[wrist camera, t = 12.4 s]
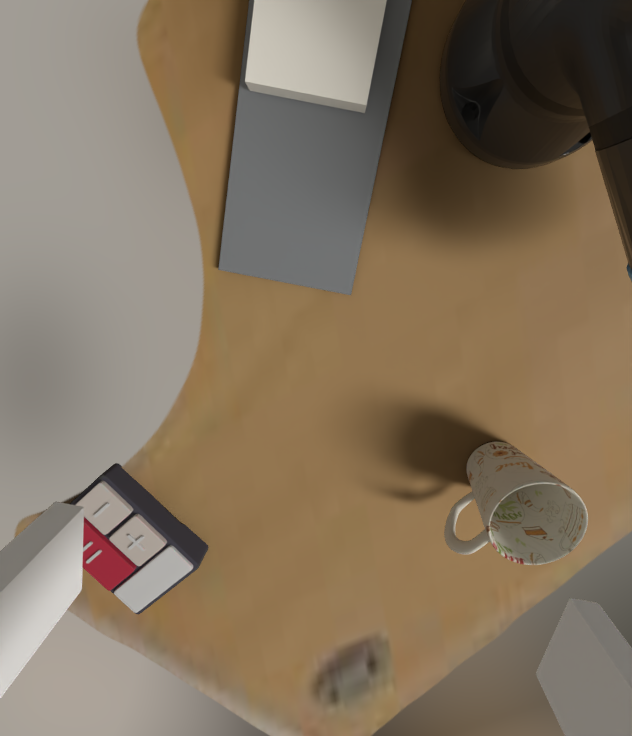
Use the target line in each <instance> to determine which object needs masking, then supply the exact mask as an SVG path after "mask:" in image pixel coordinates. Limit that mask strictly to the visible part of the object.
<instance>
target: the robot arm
mask: <svg viewBox="0 0 632 736" xmlns="http://www.w3.org/2000/svg"><path fill="white" fill-rule="evenodd" d="M440 92H441V99H442V104H443V108H444V111H445V114H446V117H447V120H448V122H449V124H450V126H451V128H452V130H453V132H454V133H455V135H456V136H457V138H458V139H459V140H460V142H461V143H462V144H463V145H464V146H465V147H466V148H467V149H468V150H469V151H470V152H472V153H473V154H474V155H476V156H477V157H479V158H480V159H482V160H484V161H486V162H488V163H490V164H493V165H496V166H500V167H504V168H511V169H526V168H533V167H538V166H542V165H545V164H548V163H551V162H553V161H556V160H558V159H561V158H563V157H566V156H568V155H570V154H572V153H574V152H576V151H577V150H579V149H581V148H582V147H584V146H585V145H587V144H588V143H589V142H591V141H592V140H593V143H594V146H595V152H596V155H597V159H598V162H599V165H600V169H601V172H602V176H603V179H604V182H605V186H606V189H607V192H608V196H609V199H610V203H611V206H612V209H613V213H614V216H615V219H616V223H617V226H618V229H619V233H620V236H621V240H622V243H623V246H624V250H625V253H626V256H627V260H628V265H627V271H628V275H629V277H630V279H631V281H632V0H466V1H465V3H464V5H463V6H462V8H461V10H460V12H459V14H458V16H457V18H456V20H455V21H454V24H453V26H452V28H451V30H450V32H449V35H448V38H447V41H446V44H445V47H444V51H443V55H442V60H441V68H440ZM83 528H84V507H82V506H76V505H71V504H66V503H60V502H55V503H53V504H52V505H51V506H50V507H49V508H48V509H47V510H46V511H44V512H43V513H42V514H41V515H40V516H39V517H38V518H37V519H36V520H34V521H33V522H32V523H31V524H30V525H29V526H28V527H27V528H25V529H24V530H23V531H22V532H21V533H20V534H19V535H18V536H17V537H15V538H14V539H13V540H12V541H11V542H10V543H9V544H8V545H7V546H5V547H4V548H3V549H2V550H1V551H0V698H1V697H2V696H3V694H4V693H5V692H6V690H7V689H8V688H9V686H10V685H11V684H12V682H13V681H14V680H15V678H16V677H17V676H18V674H19V673H20V672H21V670H22V669H23V668H24V666H25V665H26V664H27V662H28V661H29V660H30V658H31V657H32V656H33V654H34V653H35V652H36V650H37V649H38V648H39V646H40V645H41V644H42V642H43V641H44V639H45V638H46V637H47V635H48V634H49V633H50V631H51V630H52V629H53V627H54V626H55V624H56V623H57V622H58V621H59V619H60V618H61V617H62V615H63V614H64V613H65V611H66V610H67V609H68V607H69V606H70V605H71V603H72V602H73V601H74V599H75V598H76V597H77V595H78V594H79V593H80V591H81V590H82V564H83ZM536 676H537V678H538V680H539V682H540V684H541V686H542V688H543V690H544V692H545V694H546V697H547V698H548V701H549V703H550V705H551V707H552V709H553V711H554V713H555V716H556V718H557V720H558V722H559V724H560V726H561V728H562V730H563V733H564V735H565V736H632V648H631V647H630V645H629V644H628V643H627V641H626V640H625V639H624V637H623V636H622V635H621V633H620V632H619V631H618V629H617V628H616V627H615V625H614V624H613V623H612V621H611V620H610V618H609V617H608V616H607V614H606V613H605V612H604V610H603V609H602V608H601V606H600V605H599V604H598V603H594V602H589V601H584V600H578V599H573V598H570V599H569V601H568V603H567V606H566V608H565V610H564V612H563V615H562V617H561V619H560V621H559V624H558V626H557V628H556V630H555V632H554V635H553V637H552V639H551V641H550V643H549V646H548V648H547V650H546V652H545V654H544V657H543V659H542V661H541V663H540V666H539V668H538V670H537V672H536Z"/></svg>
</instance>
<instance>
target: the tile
mask: <svg viewBox="0 0 632 736" xmlns="http://www.w3.org/2000/svg"><path fill="white" fill-rule="evenodd" d="M386 2H387V0H254V8H253V17H252V25H251V34H250V42H249V51H248V59H247V68H246V76H245V83H246V84H247V86H248V88H249V90H250V91H254V92H259V93H264V94H269V95H274V96H279V97H284V98H289V99H295V100H300V101H305V102H310V103H315V104H320V105H325V106H330V107H335V108H341V109H346V110H351V111H356V112H361V113H365V110H366V106H367V100H368V95H369V90H370V85H371V80H372V74H373V69H374V64H375V59H376V54H377V49H378V43H379V38H380V33H381V28H382V23H383V17H384V12H385V7H386Z"/></svg>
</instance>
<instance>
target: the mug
mask: <svg viewBox="0 0 632 736" xmlns="http://www.w3.org/2000/svg"><path fill="white" fill-rule="evenodd" d="M467 475H468V479H469V482H470V485H471V488H472V492H470V493H469V494H467V495H466V496H464V497H463V498H462V499H460V500H459V501H458V502H457V503H456V504H455V505H454V506H453V507H452V509H451V511H450V513H449V515H448V518H447V521H446V525H445V532H444V535H445V541H446V543H447V545H448V546H449V548H450V549H451V550H453V551H455V552H457V553H460V554H471V553H474V552H475V551H477V550H479V549H480V548H481V547H483V546H484V545H486V544H487V543H488V542H489V541H490V542H491V544H492V545H493V547H494V548H495V549H496V550H497V551H498V552H499V553H500V554H501V555H502V556H504V557H505V558H507V559H509V560H511V561H513V562H516V563H520V564H526V565H540V564H546V563H550V562H553V561H556V560H558V559H560V558H562V557H564V556H565V555H567V554H568V553H570V552H571V551H572V550H573V549H574V548H575V547H576V546H577V545H578V544H579V543H580V541H581V540H582V538H583V536H584V534H585V532H586V529H587V524H588V514H587V510H586V507H585V504H584V503H583V501H582V499H581V498H580V497H579V495H578V494H577V493H576V492H575V491H574V490H572V489H571V488H570V487H569V486H568V485H566V484H565V483H563V482H562V481H561V480H559V479H558V478H557V477H555V476H554V475H552V474H551V473H550V472H548V471H547V470H546V469H544V468H543V467H541V466H540V465H539V464H537V463H536V462H535V461H533V460H532V459H530V458H529V457H528V456H526V455H525V454H524V453H522V452H521V451H519V450H518V449H517V448H515V447H514V446H512V445H510V444H508V443H504V442H490V443H486V444H484V445H482V446H480V447H478V448H477V449H476V450H475V451H474V452H473V453H472V454H471V456H470V457H469V459H468V462H467ZM474 498H475V500H476V503H477V506H478V509H479V512H480V515H481V518H482V521H483V524H484V527H485V530H483V531H482V532H481V533H480V534H479V535H477V536H476V537H475V538H473V539H472V540H470V541H462V540H459V539H458V538H457V537H456V534H455V525H456V520H457V517H458V514H459V513H460V511H461V510H462V509H463V508H464V507H465V506H466V505H467V504H469V503H470V502H471V501H472V500H473V499H474Z"/></svg>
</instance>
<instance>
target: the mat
mask: <svg viewBox="0 0 632 736" xmlns="http://www.w3.org/2000/svg"><path fill="white" fill-rule="evenodd" d="M411 2H412V0H387V2H386V7H385V12H384V17H383V23H382V28H381V33H380V38H379V43H378V49H377V54H376V59H375V64H374V69H373V74H372V80H371V85H370V90H369V95H368V100H367V106H366V110H365V113H361V112H356V111H351V110H346V109H341V108H335V107H330V106H325V105H320V104H315V103H310V102H305V101H300V100H295V99H289V98H284V97H279V96H274V95H269V94H264V93H259V92H254V91H250V90H249V88H248V86H247V84H246V83H245V76H246V68H247V59H248V51H249V42H250V34H251V25H252V17H253V8H254V0H249V7H248V16H247V25H246V33H245V42H244V51H243V60H242V68H241V77H240V86H239V95H238V103H237V112H236V121H235V130H234V138H233V147H232V156H231V165H230V173H229V182H228V191H227V200H226V208H225V217H224V226H223V235H222V244H221V252H220V261H219V270H223V271H228V272H233V273H238V274H243V275H249V276H254V277H259V278H264V279H270V280H275V281H280V282H285V283H290V284H296V285H301V286H306V287H311V288H316V289H322V290H327V291H332V292H337V293H342V294H348V295H351V292H352V287H353V282H354V277H355V273H356V268H357V263H358V258H359V253H360V248H361V244H362V239H363V234H364V229H365V224H366V219H367V215H368V210H369V205H370V200H371V195H372V191H373V186H374V181H375V176H376V171H377V166H378V162H379V157H380V152H381V147H382V142H383V137H384V133H385V128H386V123H387V118H388V113H389V108H390V104H391V99H392V94H393V89H394V84H395V80H396V75H397V70H398V65H399V60H400V55H401V51H402V46H403V41H404V36H405V31H406V26H407V22H408V17H409V12H410V7H411Z"/></svg>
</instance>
